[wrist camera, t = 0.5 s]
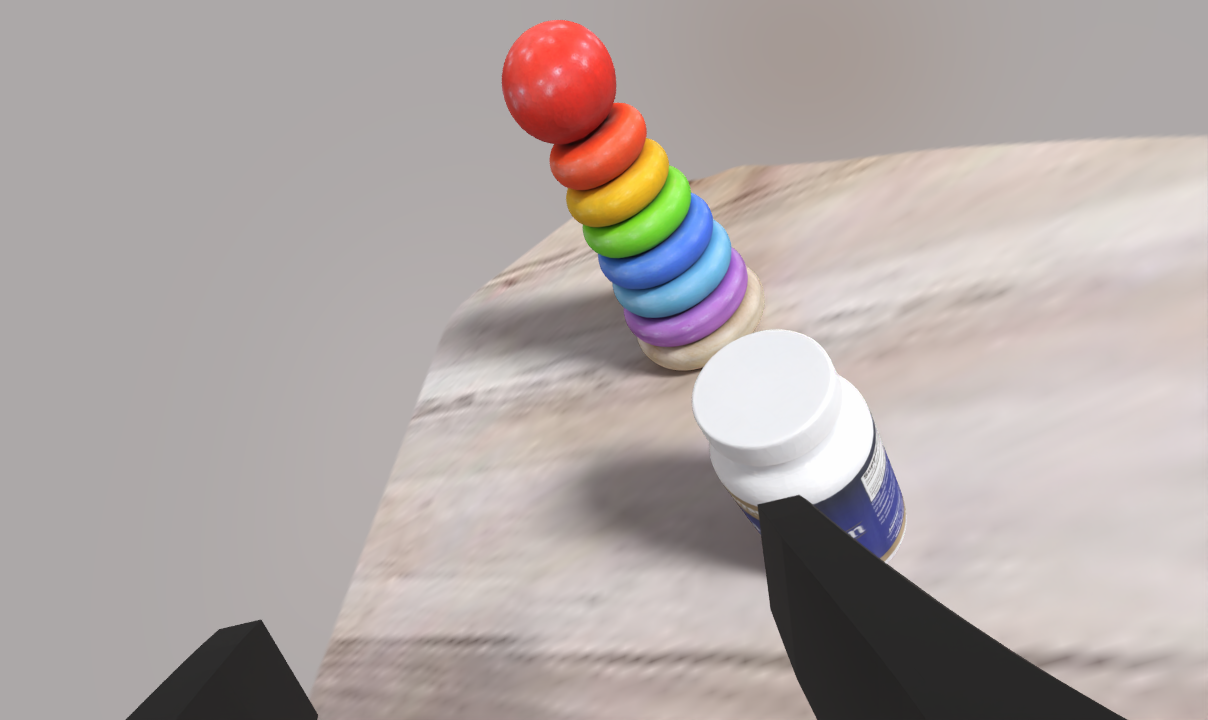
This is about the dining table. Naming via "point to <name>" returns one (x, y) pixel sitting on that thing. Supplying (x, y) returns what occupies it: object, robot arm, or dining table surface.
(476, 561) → the dining table surface
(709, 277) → the stacking toy
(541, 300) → the dining table surface
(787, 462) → the pill bottle
